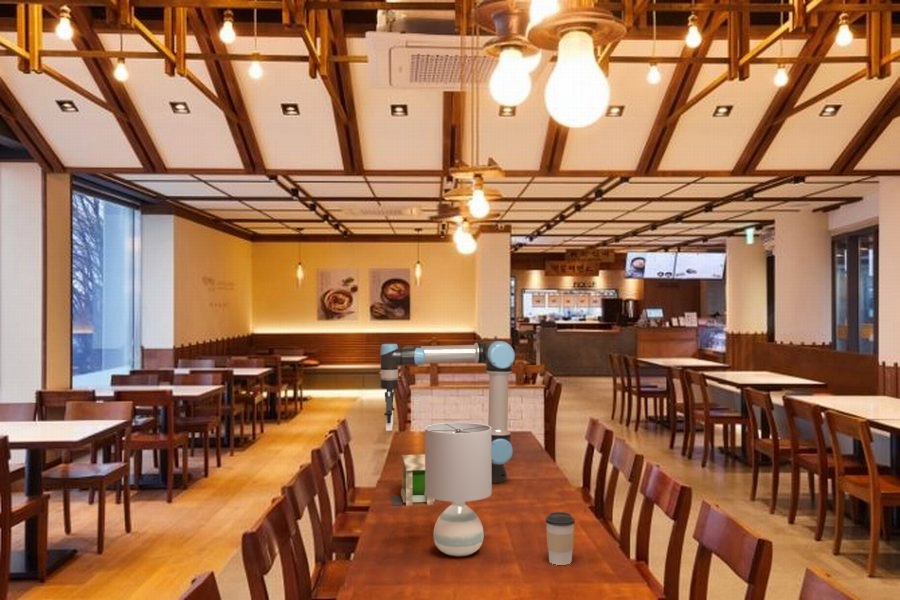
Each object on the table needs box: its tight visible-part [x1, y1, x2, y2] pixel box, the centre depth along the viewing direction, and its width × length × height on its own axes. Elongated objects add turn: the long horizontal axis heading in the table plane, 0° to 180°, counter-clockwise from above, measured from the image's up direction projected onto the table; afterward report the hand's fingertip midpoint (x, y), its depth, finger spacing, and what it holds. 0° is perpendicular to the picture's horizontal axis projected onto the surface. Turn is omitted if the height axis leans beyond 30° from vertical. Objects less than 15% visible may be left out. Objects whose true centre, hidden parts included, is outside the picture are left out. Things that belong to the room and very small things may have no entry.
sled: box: [400, 488, 436, 504], centre depth 306 cm, size 31×13×8 cm, turn 98°
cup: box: [412, 470, 425, 496], centre depth 304 cm, size 9×9×11 cm
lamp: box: [424, 422, 493, 557], centre depth 237 cm, size 22×22×40 cm
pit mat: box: [389, 495, 403, 506], centre depth 301 cm, size 4×14×1 cm, turn 8°
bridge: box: [401, 453, 434, 507], centre depth 304 cm, size 11×24×16 cm, turn 8°
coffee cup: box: [545, 511, 576, 566], centre depth 227 cm, size 9×9×15 cm
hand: (389, 427), depth 318 cm, fingers open, 13 cm apart
